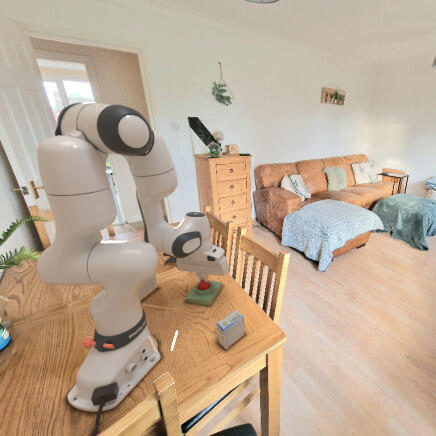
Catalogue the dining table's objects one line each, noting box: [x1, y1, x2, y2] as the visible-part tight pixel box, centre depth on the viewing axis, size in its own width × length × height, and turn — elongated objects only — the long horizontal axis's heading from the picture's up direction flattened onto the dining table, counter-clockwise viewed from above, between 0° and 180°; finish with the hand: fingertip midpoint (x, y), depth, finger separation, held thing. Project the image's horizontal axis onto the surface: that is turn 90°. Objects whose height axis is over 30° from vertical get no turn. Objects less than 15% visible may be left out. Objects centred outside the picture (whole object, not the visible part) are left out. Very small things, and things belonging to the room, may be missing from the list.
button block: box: [185, 280, 223, 306], centre depth 99 cm, size 12×10×4 cm
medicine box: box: [216, 309, 246, 350], centre depth 78 cm, size 8×4×9 cm, turn 141°
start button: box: [197, 280, 210, 290], centre depth 98 cm, size 4×4×2 cm
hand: (204, 280), depth 97 cm, fingers closed
